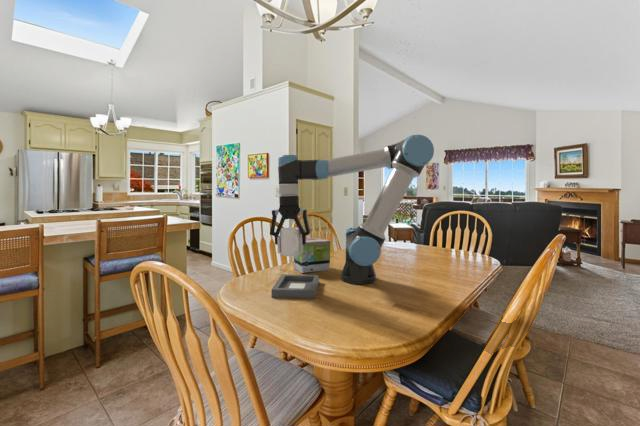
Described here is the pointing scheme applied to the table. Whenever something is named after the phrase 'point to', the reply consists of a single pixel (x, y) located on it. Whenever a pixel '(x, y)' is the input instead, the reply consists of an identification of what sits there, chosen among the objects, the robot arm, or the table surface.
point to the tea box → (313, 256)
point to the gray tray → (296, 286)
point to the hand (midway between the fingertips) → (290, 252)
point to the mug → (290, 241)
